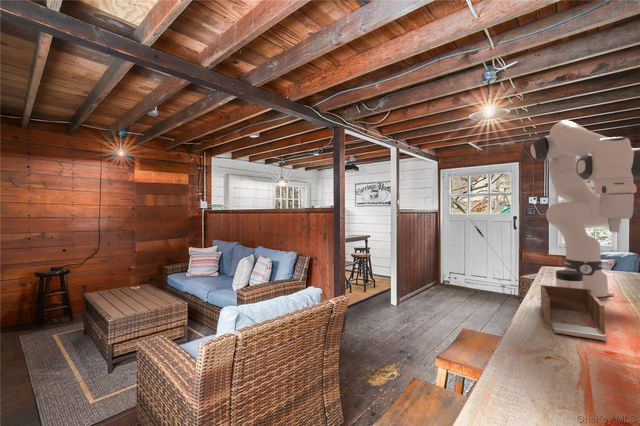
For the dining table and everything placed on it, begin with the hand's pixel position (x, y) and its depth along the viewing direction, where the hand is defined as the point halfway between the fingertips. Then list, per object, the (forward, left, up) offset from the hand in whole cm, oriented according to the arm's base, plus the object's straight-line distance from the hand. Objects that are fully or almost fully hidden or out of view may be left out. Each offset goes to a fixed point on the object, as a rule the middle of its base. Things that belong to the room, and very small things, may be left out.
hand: (614, 232), depth 95 cm
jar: (-19, -9, -29) cm, 36 cm away
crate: (0, -12, -29) cm, 31 cm away
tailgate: (+10, -12, -29) cm, 33 cm away
